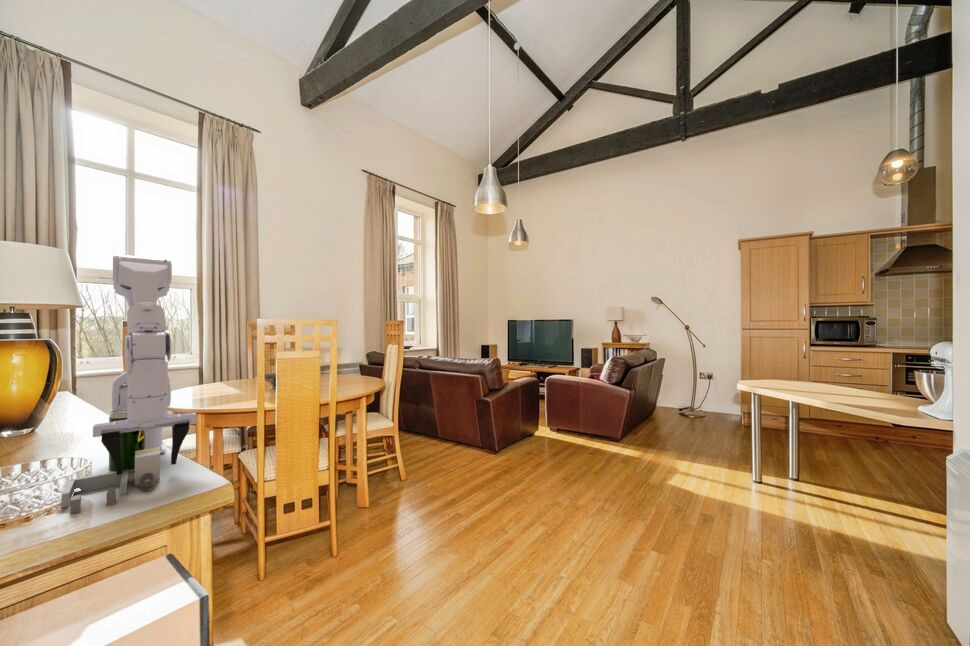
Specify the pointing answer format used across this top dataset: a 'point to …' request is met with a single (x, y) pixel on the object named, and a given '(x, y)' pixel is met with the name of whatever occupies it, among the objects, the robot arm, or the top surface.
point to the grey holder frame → (94, 483)
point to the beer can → (127, 443)
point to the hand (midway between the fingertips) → (147, 467)
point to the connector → (147, 467)
